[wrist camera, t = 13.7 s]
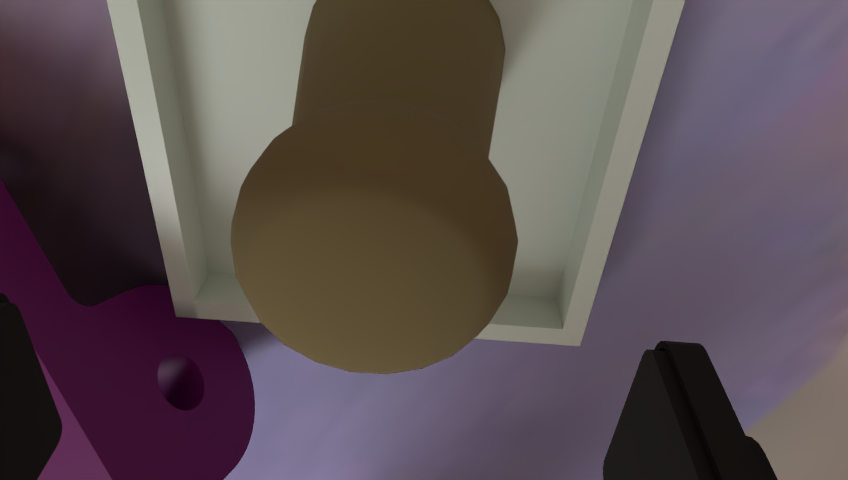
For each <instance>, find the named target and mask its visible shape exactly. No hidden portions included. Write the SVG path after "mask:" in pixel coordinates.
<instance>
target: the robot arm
mask: <svg viewBox="0 0 848 480" xmlns="http://www.w3.org/2000/svg"><path fill="white" fill-rule="evenodd" d="M61 433H62V422H61V418H60V416H59V413H58V410H57V408H56V405H55V402H54V400H53V397H52V394H51V392H50V389H49V386H48V384H47V381H46V378H45V376H44V373H43V370H42V368H41V365H40V363H39V360H38V357H37V355H36V352H35V349H34V347H33V344H32V341H31V339H30V336H29V333H28V331H27V328H26V325H25V323H24V320H23V317H22V315H21V312H20V310H19V308H18V306H17V305H15V304H14V303H10V301H9V300H8V298H7V296H6V295H4V294H3V293H0V480H37V479H38V477H39V476H40V474H41V472H42V471H43V469H44V467H45V466H46V464H47V462H48V461H49V459H50V457H51V456H52V454H53V452H54V451H55V449H56V447H57V445H58V443H59V441H60V438H61ZM603 479H604V480H777V477H776V475H775V473H774V471H773V469H772V467H771V465H770V463H769V461H768V459H767V457H766V455H765V453H764V451H763V450H762V448H761V446H760V445H759V443H758V442H756V441H755V440H754V439H753V438H752V437H748V436H745V433H744V431H743V429H742V427H741V425H740V423H739V421H738V418H737V416H736V414H735V412H734V410H733V408H732V405H731V403H730V401H729V399H728V397H727V395H726V392H725V390H724V388H723V386H722V384H721V382H720V380H719V377H718V375H717V373H716V371H715V369H714V367H713V364H712V362H711V360H710V358H709V356H708V354H707V352H706V350H705V348H704V347H703V346H702V345H701V344H698V343H684V342H670V341H660V342H659V343H658V344H657V346H656V348H655V350H646V351H645V352H644V354H643V356H642V359H641V361H640V364H639V367H638V370H637V372H636V375H635V378H634V381H633V383H632V386H631V389H630V392H629V394H628V397H627V400H626V402H625V405H624V408H623V411H622V413H621V416H620V419H619V422H618V424H617V427H616V430H615V433H614V435H613V438H612V441H611V443H610V446H609V449H608V452H607V454H606V457H605V460H604V466H603Z"/></svg>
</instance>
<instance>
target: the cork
mask: <svg viewBox="0 0 848 480" xmlns="http://www.w3.org/2000/svg"><path fill="white" fill-rule="evenodd" d="M505 50H506V49H505V44H504V39H503V33H502V28H501V23H500V18H499V16H498V15H497V13H496V11H495V9H494V8H493V6H492V4H491V2H490V0H317V1H316V2H315V4H314V5H313V8H312V11H311V15H310V18H309V22H308V26H307V29H306V33H305V37H304V44H303V51H302V58H301V65H300V72H299V79H298V86H297V93H296V100H295V107H294V114H293V121H292V126H291V127H289V128H288V129H286V130H285V131H283V132H282V133H281V134H279V135H278V136H276V137H275V138H274V139H273V140H272V141H271V143H270V144H269V145H268V147H267V148H266V149H265V150H264V152H263V153H262V154H261V156H260V157H259V158H258V160H257V161H256V162H255V164H254V165H253V166H252V168H251V169H250V170H249V172H248V174H247V176H246V178H245V180H244V182H243V184H242V185H241V188H240V192H239V196H238V199H237V203H236V207H235V211H234V215H233V219H232V223H231V249H232V255H233V262H234V268H235V275H236V278H237V280H238V282H239V284H240V286H241V288H242V290H243V292H244V294H245V296H246V298H247V299H248V301H249V303H250V305H251V307H252V308H253V310H254V312H255V314H256V315H257V317H258V319H259V321H260V322H261V323H262V324H263V325H264V326H265V327H266V328H267V329H268V330H269V331H270V332H271V333H273V334H274V335H275V336H276V337H277V338H278V339H279V340H280V341H281V342H282V343H283V344H284V345H286V346H288V347H289V348H291V349H293V350H295V351H297V352H299V353H300V354H302V355H304V356H306V357H308V358H309V359H311V360H313V361H315V362H318V363H321V364H325V365H328V366H332V367H335V368H339V369H342V370H346V371H349V372H362V373H377V374H390V373H397V372H403V371H410V370H416V369H422V368H424V367H427V366H429V365H431V364H434V363H436V362H439V361H441V360H443V359H446V358H448V357H451V356H453V355H454V354H455V353H456V352H458V351H459V350H460V349H461V348H463V347H464V346H465V345H466V344H468V343H469V342H470V341H471V340H473V339H474V338H475V337H476V336H478V335H479V334H480V333H481V331H482V330H483V329H484V328H485V327H486V326H487V325H488V324H489V323H490V321H491V320H492V318H493V317H494V315H495V313H496V312H497V310H498V309H499V307H500V305H501V304H502V302H503V301H504V299H505V297H506V296H507V294H508V290H509V286H510V282H511V278H512V274H513V268H514V262H515V257H516V251H517V246H518V237H517V231H516V225H515V220H514V216H513V211H512V206H511V202H510V197H509V193H508V188H507V186H506V184H505V183H504V181H503V180H502V178H501V177H500V175H499V174H498V172H497V170H496V169H495V167H494V166H493V164H492V163H491V161H490V160H489V152H490V146H491V140H492V134H493V128H494V122H495V116H496V110H497V104H498V98H499V92H500V86H501V80H502V72H503V65H504V57H505Z"/></svg>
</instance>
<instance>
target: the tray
mask: <svg viewBox="0 0 848 480" xmlns="http://www.w3.org/2000/svg"><path fill="white" fill-rule="evenodd" d="M316 1H317V0H107V3H108V8H109V12H110V17H111V21H112V26H113V30H114V35H115V40H116V44H117V49H118V53H119V58H120V62H121V67H122V72H123V76H124V81H125V85H126V90H127V95H128V99H129V104H130V108H131V113H132V117H133V122H134V127H135V131H136V136H137V140H138V145H139V149H140V154H141V159H142V163H143V168H144V172H145V177H146V182H147V186H148V191H149V195H150V200H151V204H152V209H153V214H154V218H155V223H156V227H157V232H158V236H159V241H160V246H161V250H162V255H163V259H164V264H165V269H166V273H167V278H168V282H169V287H170V291H171V296H172V301H173V305H174V310H175V314H176V317H186V318H200V319H214V320H227V321H241V322H255V323H261V322H260V321H259V319H258V317H257V315H256V314H255V312H254V310H253V308H252V307H251V305H250V303H249V301H248V299H247V298H246V296H245V294H244V292H243V290H242V288H241V286H240V284H239V282H238V280H237V278H236V275H235V268H234V262H233V255H232V249H231V223H232V219H233V215H234V211H235V207H236V203H237V199H238V196H239V192H240V188H241V185H242V184H243V182H244V180H245V178H246V176H247V174H248V172H249V170H250V169H251V168H252V166H253V165H254V164H255V162H256V161H257V160H258V158H259V157H260V156H261V154H262V153H263V152H264V150H265V149H266V148H267V147H268V145H269V144H270V143H271V141H272V140H273V139H274V138H275V137H276V136H278V135H279V134H281V133H282V132H283V131H285V130H286V129H288V128H289V127H291V126H292V121H293V114H294V107H295V100H296V93H297V86H298V79H299V72H300V65H301V58H302V51H303V44H304V37H305V33H306V29H307V26H308V22H309V18H310V15H311V11H312V8H313V5H314V4H315V2H316ZM490 2H491V4H492V6H493V8H494V9H495V11H496V13H497V15H498V16H499V18H500V23H501V28H502V33H503V39H504V44H505V49H506V50H505V57H504V65H503V72H502V80H501V86H500V92H499V98H498V104H497V110H496V116H495V122H494V128H493V134H492V140H491V146H490V152H489V160H490V161H491V163H492V164H493V166H494V167H495V169H496V170H497V172H498V174H499V175H500V177H501V178H502V180H503V181H504V183H505V184H506V186H507V188H508V193H509V197H510V202H511V206H512V211H513V216H514V220H515V225H516V231H517V237H518V246H517V251H516V257H515V262H514V268H513V274H512V278H511V282H510V286H509V290H508V294H507V296H506V297H505V299H504V301H503V302H502V304H501V305H500V307H499V309H498V310H497V312H496V313H495V315H494V317H493V318H492V320H491V321H490V323H489V324H488V325H487V326H486V327H485V328H484V329H483V330H482V331H481V333H480V334H479V335H478V336H476V337H475V338H474V339H486V340H500V341H514V342H527V343H541V344H555V345H568V346H580V345H581V341H582V338H583V335H584V332H585V328H586V325H587V322H588V318H589V315H590V312H591V309H592V305H593V302H594V299H595V295H596V292H597V289H598V285H599V282H600V279H601V276H602V272H603V269H604V266H605V262H606V259H607V256H608V253H609V249H610V246H611V243H612V239H613V236H614V233H615V229H616V226H617V223H618V220H619V216H620V213H621V210H622V206H623V203H624V200H625V197H626V193H627V190H628V187H629V183H630V180H631V177H632V174H633V170H634V167H635V164H636V160H637V157H638V154H639V150H640V147H641V144H642V141H643V137H644V134H645V131H646V127H647V124H648V121H649V118H650V114H651V111H652V108H653V104H654V101H655V98H656V94H657V91H658V88H659V85H660V81H661V78H662V75H663V71H664V68H665V65H666V62H667V58H668V55H669V52H670V48H671V45H672V42H673V38H674V35H675V32H676V29H677V25H678V22H679V19H680V15H681V12H682V9H683V6H684V2H685V0H490Z"/></svg>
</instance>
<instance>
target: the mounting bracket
mask: <svg viewBox="0 0 848 480" xmlns="http://www.w3.org/2000/svg"><path fill="white" fill-rule="evenodd" d="M0 293H3V294H4V295H6V296H7V298H8V300H9V301H10V303H14V304H15V305H17V306H18V308H19V310H20V312H21V315H22V317H23V320H24V323H25V325H26V328H27V331H28V333H29V336H30V339H31V341H32V344H33V347H34V349H35V352H36V355H37V357H38V360H39V363H40V365H41V368H42V370H43V373H44V376H45V378H46V381H47V384H48V386H49V389H50V392H51V394H52V397H53V400H54V402H55V405H56V408H57V410H58V413H59V416H60V418H61V422H62V433H61V438H60V441H59V443H58V445H57V447H56V449H55V451H54V452H53V454H52V456H51V457H50V459H49V461H48V462H47V464H46V466H45V467H44V469H43V471H42V472H41V474H40V476H39V477H38V479H37V480H223V479H224V478H225V477H226V476H227V475H228V474H229V473H230V472H231V471H232V470H233V469H234V468H235V466H236V465H237V464H238V463H239V461H240V460H241V458H242V456H243V455H244V453H245V451H246V449H247V446H248V444H249V441H250V438H251V434H252V430H253V424H254V415H255V400H254V390H253V383H252V379H251V375H250V371H249V368H248V365H247V362H246V359H245V357H244V354H243V352H242V350H241V348H240V346H239V344H238V342H237V340H236V339H235V337H234V335H233V334H232V332H231V331H230V330H229V329H228V328H227V327H226V326H225V325H224V324H223V323H221V322H220V321H219V320H214V319H200V318H186V317H176V314H175V310H174V305H173V301H172V296H171V291H170V287H169V286H164V285H146V286H141V287H137V288H134V289H131V290H129V291H127V292H124V293H122V294H120V295H118V296H115V297H113V298H111V299H109V300H106V301H104V302H102V303H100V304H97V305H95V306H84V305H81V304H79V303H77V302H75V301H74V300H73V299H72V298H71V297H70V296H69V295H68V293H67V292H66V290H65V288H64V287H63V285H62V283H61V281H60V280H59V278H58V276H57V274H56V273H55V271H54V269H53V268H52V266H51V264H50V262H49V261H48V259H47V257H46V256H45V254H44V252H43V250H42V249H41V247H40V245H39V244H38V242H37V240H36V238H35V237H34V235H33V233H32V232H31V230H30V228H29V226H28V225H27V223H26V221H25V220H24V218H23V216H22V214H21V213H20V211H19V209H18V208H17V206H16V204H15V202H14V201H13V199H12V197H11V195H10V194H9V192H8V190H7V189H6V187H5V185H4V183H3V182H2V180H1V178H0Z"/></svg>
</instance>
